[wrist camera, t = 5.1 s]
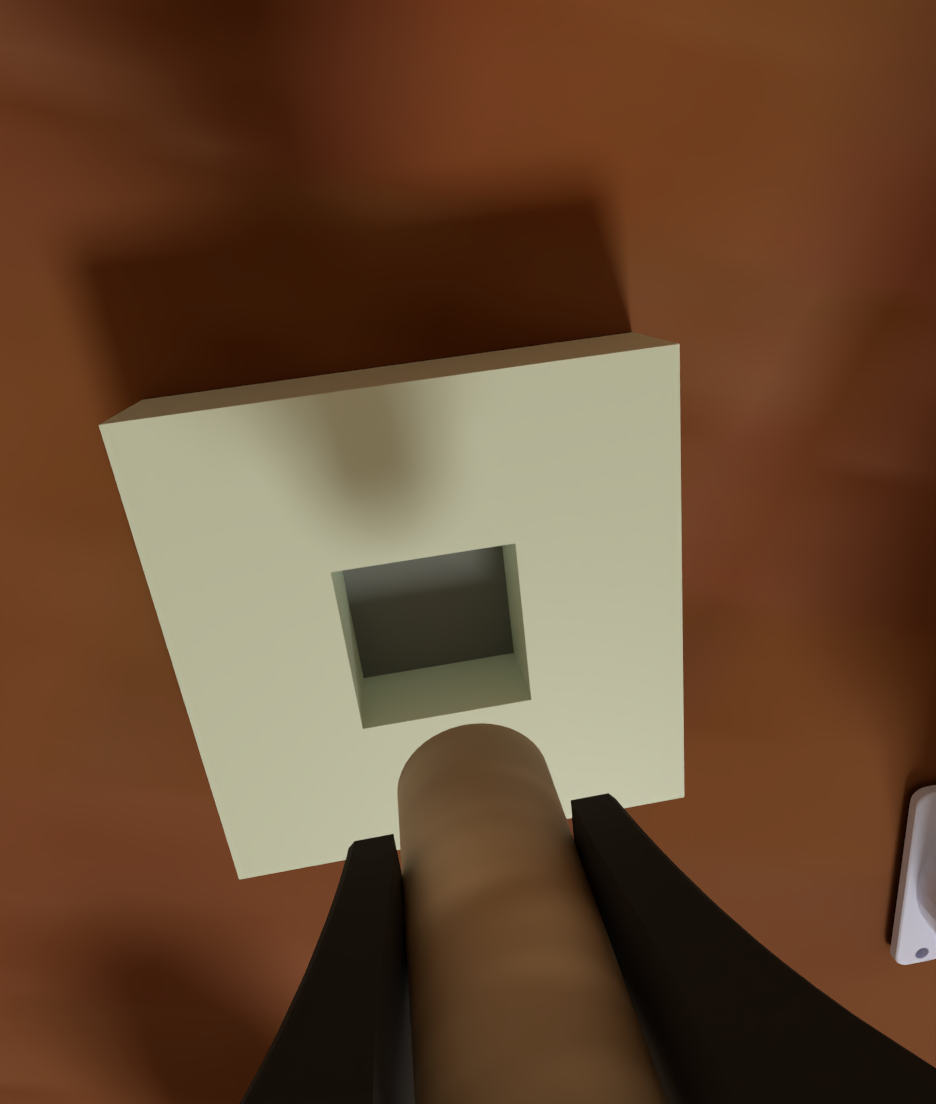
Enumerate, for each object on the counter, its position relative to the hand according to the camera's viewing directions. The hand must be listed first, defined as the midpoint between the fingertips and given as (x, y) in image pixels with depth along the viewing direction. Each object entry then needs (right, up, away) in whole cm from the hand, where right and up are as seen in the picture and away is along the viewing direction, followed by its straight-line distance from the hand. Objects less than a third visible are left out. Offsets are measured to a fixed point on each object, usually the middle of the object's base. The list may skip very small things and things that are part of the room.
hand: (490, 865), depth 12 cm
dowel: (0, +1, +2) cm, 2 cm away
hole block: (-1, +4, +9) cm, 10 cm away
